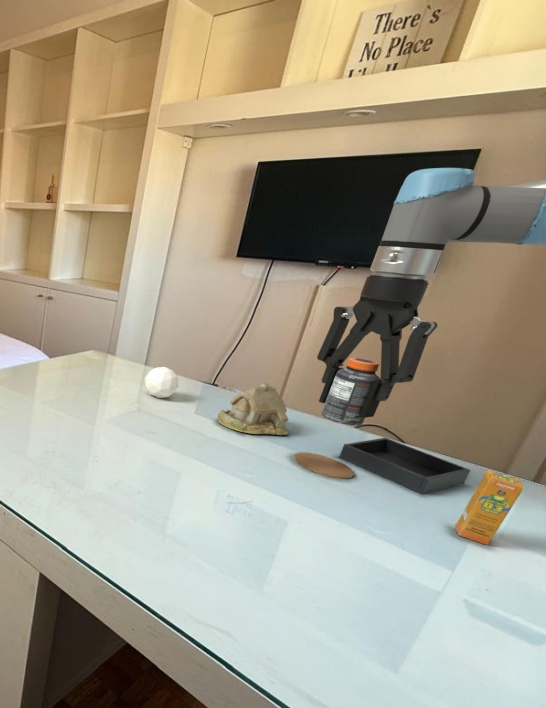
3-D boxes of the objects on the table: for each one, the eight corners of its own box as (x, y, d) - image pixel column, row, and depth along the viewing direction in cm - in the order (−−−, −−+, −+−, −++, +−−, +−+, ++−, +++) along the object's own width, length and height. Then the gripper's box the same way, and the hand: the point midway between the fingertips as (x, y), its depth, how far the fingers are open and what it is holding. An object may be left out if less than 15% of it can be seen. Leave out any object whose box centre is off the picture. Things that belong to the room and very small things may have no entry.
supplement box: (456, 535, 66) (489, 476, 63) (454, 526, 69) (485, 468, 65) (489, 547, 64) (525, 486, 61) (486, 536, 67) (520, 477, 63)
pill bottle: (358, 419, 82) (383, 360, 78) (364, 430, 78) (391, 367, 74) (318, 410, 85) (341, 353, 81) (321, 420, 81) (345, 360, 77)
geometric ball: (146, 404, 117) (135, 375, 118) (176, 394, 117) (164, 366, 118) (157, 400, 109) (145, 369, 111) (189, 389, 109) (176, 359, 111)
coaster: (364, 475, 82) (365, 473, 82) (332, 481, 79) (333, 479, 79) (313, 452, 90) (314, 450, 90) (282, 457, 87) (283, 455, 87)
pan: (463, 484, 82) (471, 469, 81) (421, 494, 77) (428, 479, 76) (379, 450, 93) (385, 437, 92) (338, 457, 89) (344, 444, 88)
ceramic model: (252, 414, 108) (265, 374, 104) (298, 435, 98) (314, 391, 94) (207, 418, 103) (218, 376, 100) (250, 440, 93) (265, 395, 90)
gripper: (321, 268, 80) (279, 391, 88) (463, 284, 63) (395, 433, 71) (348, 269, 82) (305, 389, 90) (491, 285, 66) (422, 429, 74)
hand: (345, 408), depth 81 cm, fingers closed on pill bottle, 6 cm apart
